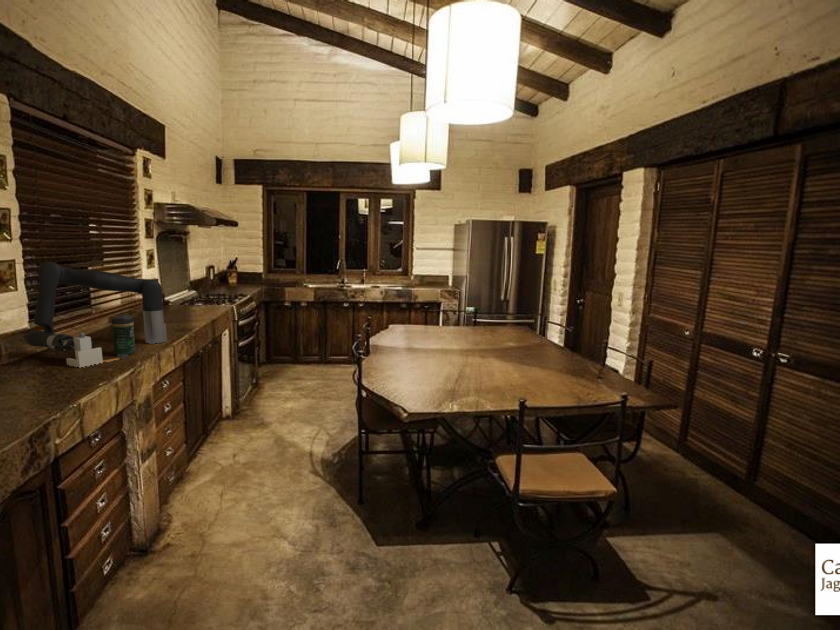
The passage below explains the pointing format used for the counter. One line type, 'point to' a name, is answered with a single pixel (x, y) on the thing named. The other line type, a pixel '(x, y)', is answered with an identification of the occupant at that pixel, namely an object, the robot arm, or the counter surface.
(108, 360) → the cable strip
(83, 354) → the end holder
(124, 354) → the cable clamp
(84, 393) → the counter surface
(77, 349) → the white square bottle
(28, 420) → the counter surface
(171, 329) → the counter surface
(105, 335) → the counter surface
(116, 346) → the coffee jar
